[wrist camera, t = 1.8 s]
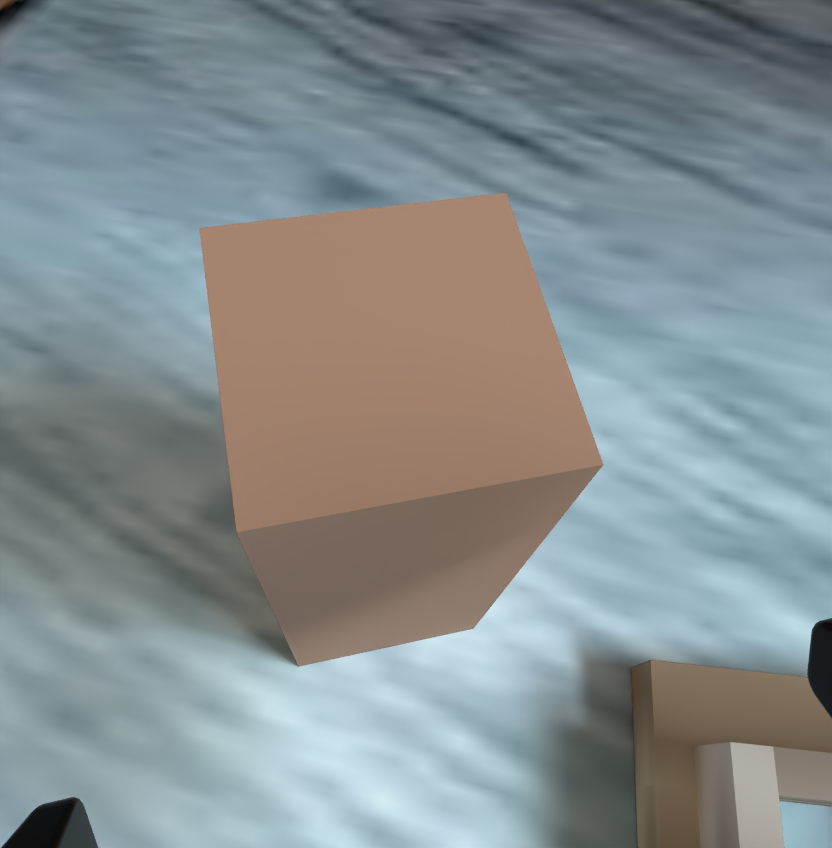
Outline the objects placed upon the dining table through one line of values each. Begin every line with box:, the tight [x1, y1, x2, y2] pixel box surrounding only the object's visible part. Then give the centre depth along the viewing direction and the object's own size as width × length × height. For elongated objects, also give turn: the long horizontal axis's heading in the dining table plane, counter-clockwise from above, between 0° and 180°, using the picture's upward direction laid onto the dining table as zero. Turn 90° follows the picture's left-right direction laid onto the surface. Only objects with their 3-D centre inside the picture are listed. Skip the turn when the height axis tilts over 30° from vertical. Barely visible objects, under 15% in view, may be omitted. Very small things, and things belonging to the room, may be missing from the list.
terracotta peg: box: [199, 193, 603, 666], centre depth 16 cm, size 5×5×12 cm
